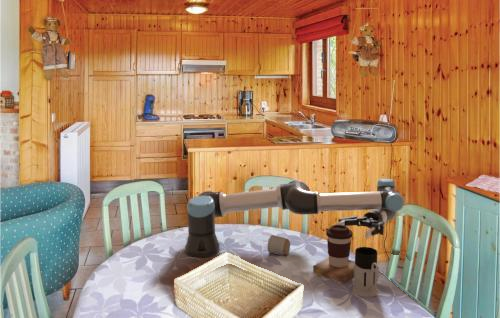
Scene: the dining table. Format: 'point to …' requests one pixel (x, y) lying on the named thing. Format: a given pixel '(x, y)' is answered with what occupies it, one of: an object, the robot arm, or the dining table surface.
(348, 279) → the walnut slab
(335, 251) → the coffee cup
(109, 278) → the dining table surface
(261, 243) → the dining table surface
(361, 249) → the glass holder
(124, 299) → the dining table surface
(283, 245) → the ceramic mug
